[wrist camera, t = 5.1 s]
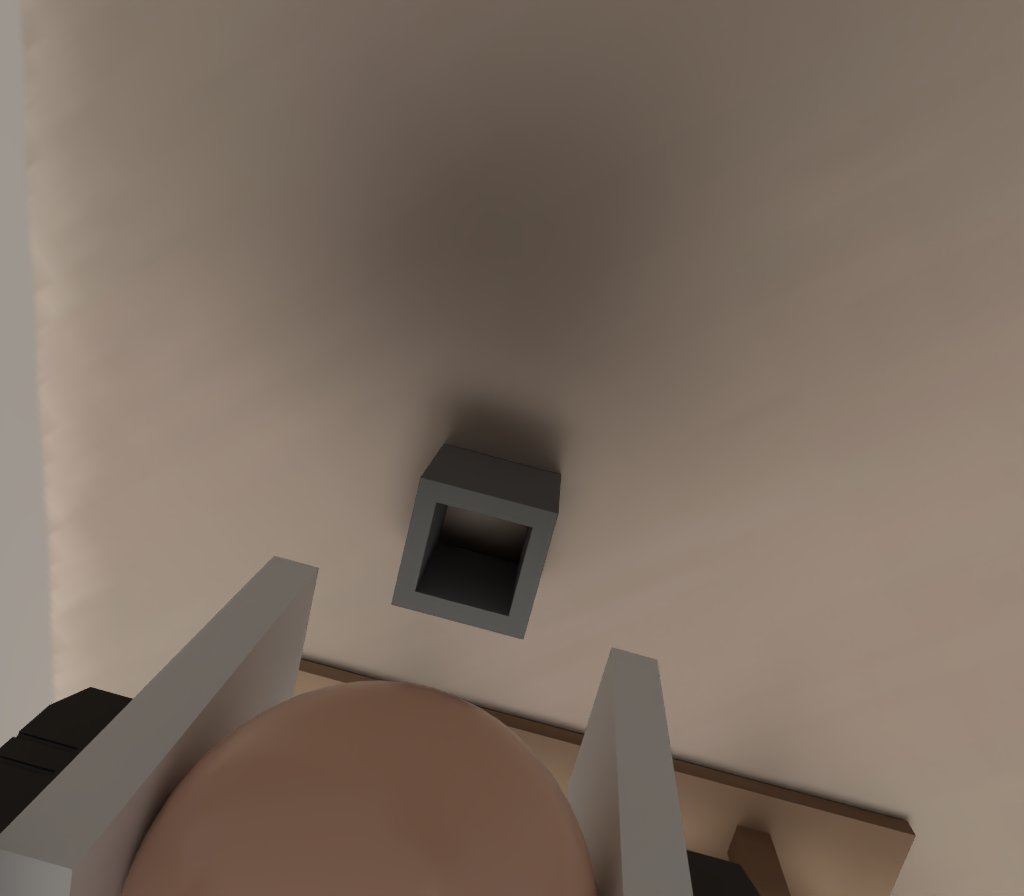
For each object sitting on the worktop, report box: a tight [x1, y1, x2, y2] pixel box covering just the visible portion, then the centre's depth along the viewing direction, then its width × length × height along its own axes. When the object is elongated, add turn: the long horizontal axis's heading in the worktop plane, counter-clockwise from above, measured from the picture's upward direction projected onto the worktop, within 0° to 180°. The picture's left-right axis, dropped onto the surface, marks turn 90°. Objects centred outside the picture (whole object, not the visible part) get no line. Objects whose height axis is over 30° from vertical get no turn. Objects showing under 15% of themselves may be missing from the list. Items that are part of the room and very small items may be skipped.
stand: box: [391, 444, 561, 639], centre depth 22 cm, size 3×3×4 cm
